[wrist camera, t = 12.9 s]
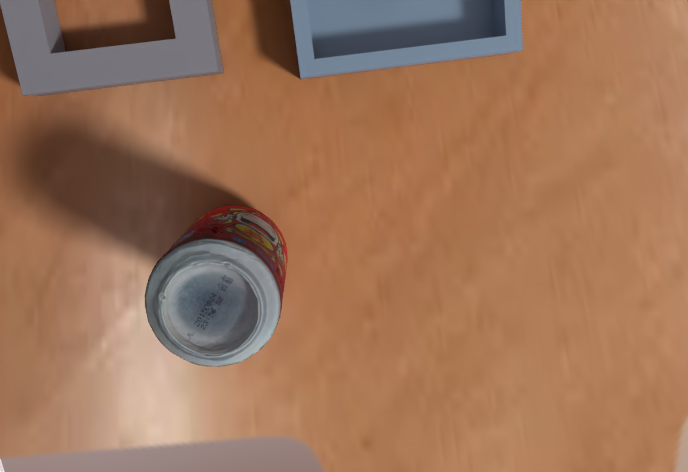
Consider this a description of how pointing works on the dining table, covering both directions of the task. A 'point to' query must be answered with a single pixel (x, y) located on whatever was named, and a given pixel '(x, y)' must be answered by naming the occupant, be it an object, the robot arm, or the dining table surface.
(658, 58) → the dining table surface
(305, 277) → the dining table surface
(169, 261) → the soda can
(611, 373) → the dining table surface
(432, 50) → the parts tray
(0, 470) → the robot arm
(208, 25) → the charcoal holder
